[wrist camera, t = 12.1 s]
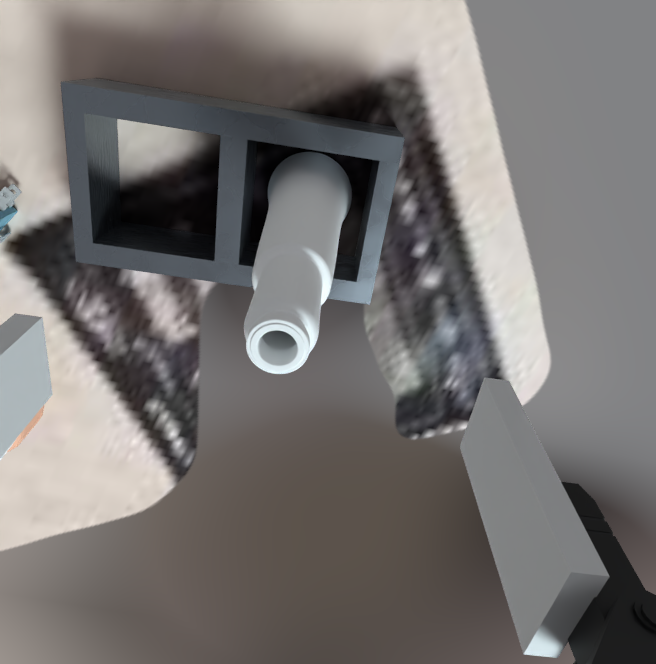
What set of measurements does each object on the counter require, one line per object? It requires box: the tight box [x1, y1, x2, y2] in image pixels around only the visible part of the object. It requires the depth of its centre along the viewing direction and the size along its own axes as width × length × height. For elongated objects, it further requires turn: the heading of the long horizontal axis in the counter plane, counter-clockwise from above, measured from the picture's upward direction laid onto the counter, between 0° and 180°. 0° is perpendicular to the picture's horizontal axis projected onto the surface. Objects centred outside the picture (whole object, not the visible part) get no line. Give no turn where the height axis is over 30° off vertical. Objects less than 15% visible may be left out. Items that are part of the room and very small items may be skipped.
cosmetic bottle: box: [244, 152, 352, 374], centre depth 28 cm, size 6×6×22 cm
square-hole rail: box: [61, 78, 405, 304], centre depth 35 cm, size 20×11×5 cm, turn 81°
